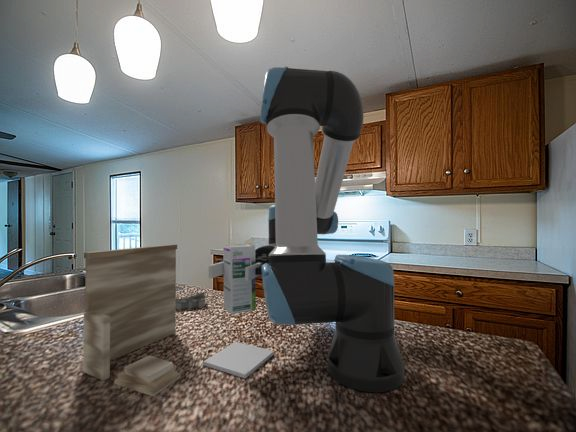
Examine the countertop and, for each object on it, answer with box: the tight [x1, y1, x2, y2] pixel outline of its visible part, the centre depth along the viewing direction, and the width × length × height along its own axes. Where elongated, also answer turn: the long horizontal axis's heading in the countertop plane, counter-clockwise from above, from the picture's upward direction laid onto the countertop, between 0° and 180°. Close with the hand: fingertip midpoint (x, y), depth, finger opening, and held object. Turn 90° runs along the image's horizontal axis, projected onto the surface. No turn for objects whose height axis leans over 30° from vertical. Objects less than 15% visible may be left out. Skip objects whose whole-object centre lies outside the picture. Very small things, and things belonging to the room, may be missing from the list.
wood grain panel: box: [82, 243, 178, 381], centre depth 66 cm, size 8×23×24 cm, turn 153°
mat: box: [202, 341, 275, 379], centre depth 62 cm, size 11×11×1 cm
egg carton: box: [176, 292, 206, 311], centre depth 101 cm, size 11×8×4 cm
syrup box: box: [222, 243, 257, 315], centre depth 62 cm, size 6×6×14 cm
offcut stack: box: [113, 354, 182, 397], centre depth 54 cm, size 10×7×4 cm
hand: (228, 273), depth 58 cm, fingers closed on syrup box, 8 cm apart
